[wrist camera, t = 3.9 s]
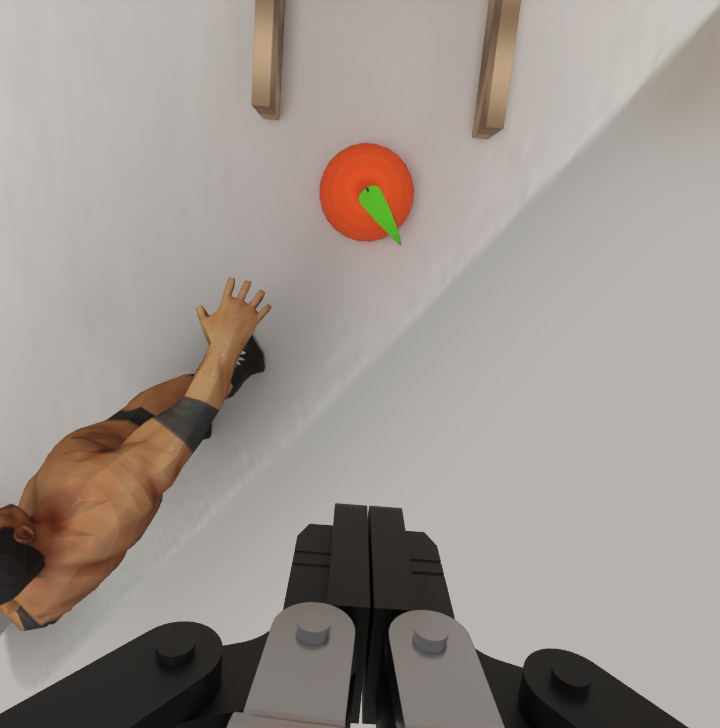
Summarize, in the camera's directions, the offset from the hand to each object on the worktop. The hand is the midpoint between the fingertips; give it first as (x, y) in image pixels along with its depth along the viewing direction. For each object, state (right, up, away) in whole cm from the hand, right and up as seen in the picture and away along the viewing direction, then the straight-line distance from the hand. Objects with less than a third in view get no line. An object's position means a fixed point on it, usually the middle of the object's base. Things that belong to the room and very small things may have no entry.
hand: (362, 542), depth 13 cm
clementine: (+1, +17, +33) cm, 37 cm away
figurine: (-13, +3, +36) cm, 39 cm away
